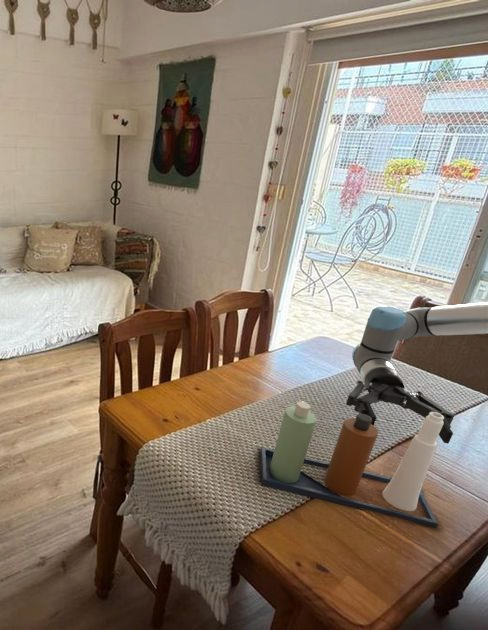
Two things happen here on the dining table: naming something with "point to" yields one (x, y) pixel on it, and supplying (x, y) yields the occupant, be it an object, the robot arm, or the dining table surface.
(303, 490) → the tray
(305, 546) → the dining table surface
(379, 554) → the dining table surface
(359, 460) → the amber bottle
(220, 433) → the dining table surface
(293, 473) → the sage bottle
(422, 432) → the cosmetic bottle
